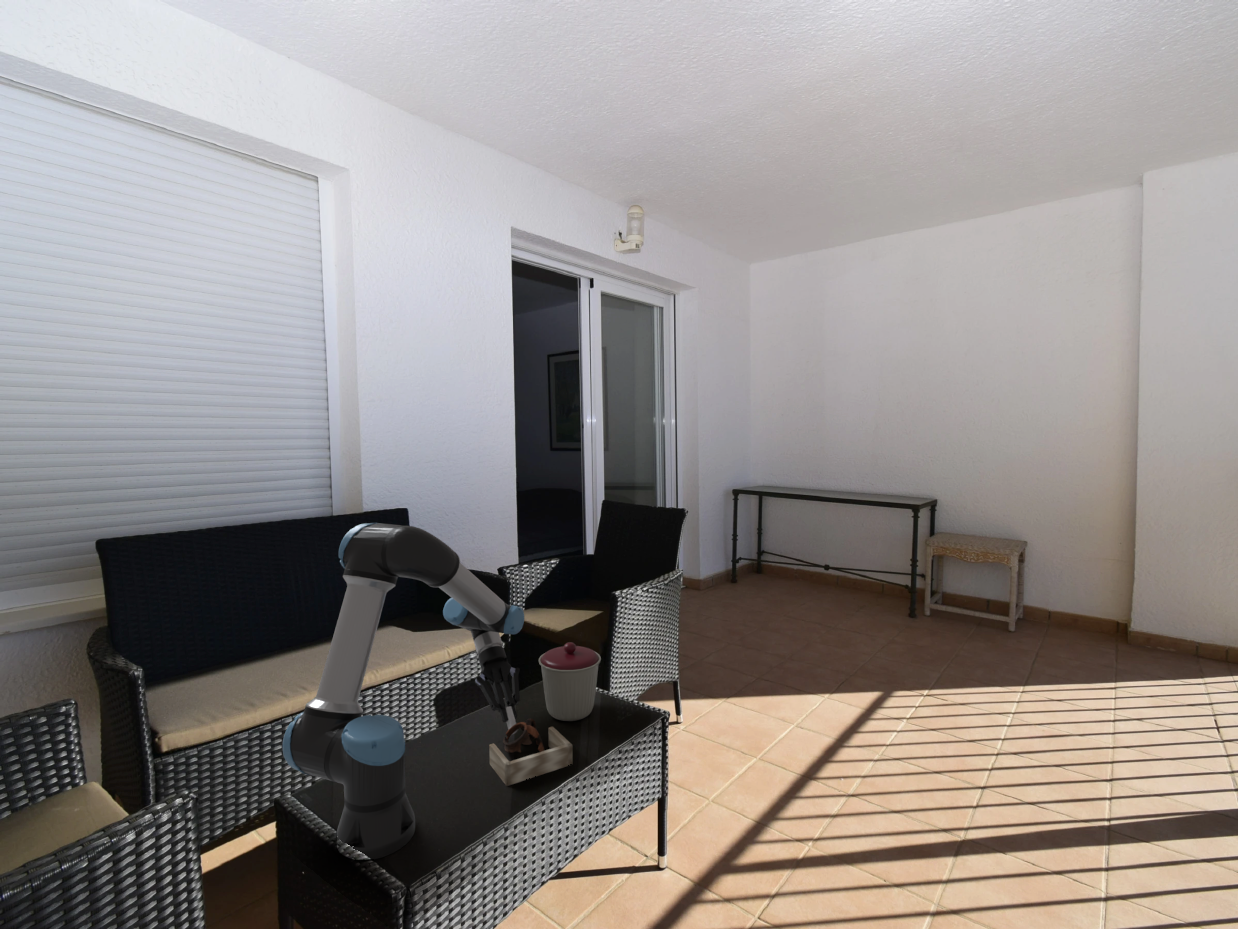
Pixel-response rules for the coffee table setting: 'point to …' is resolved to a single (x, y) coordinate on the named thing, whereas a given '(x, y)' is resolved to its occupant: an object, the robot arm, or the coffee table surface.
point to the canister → (569, 681)
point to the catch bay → (533, 760)
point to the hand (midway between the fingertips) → (514, 732)
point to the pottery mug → (523, 736)
